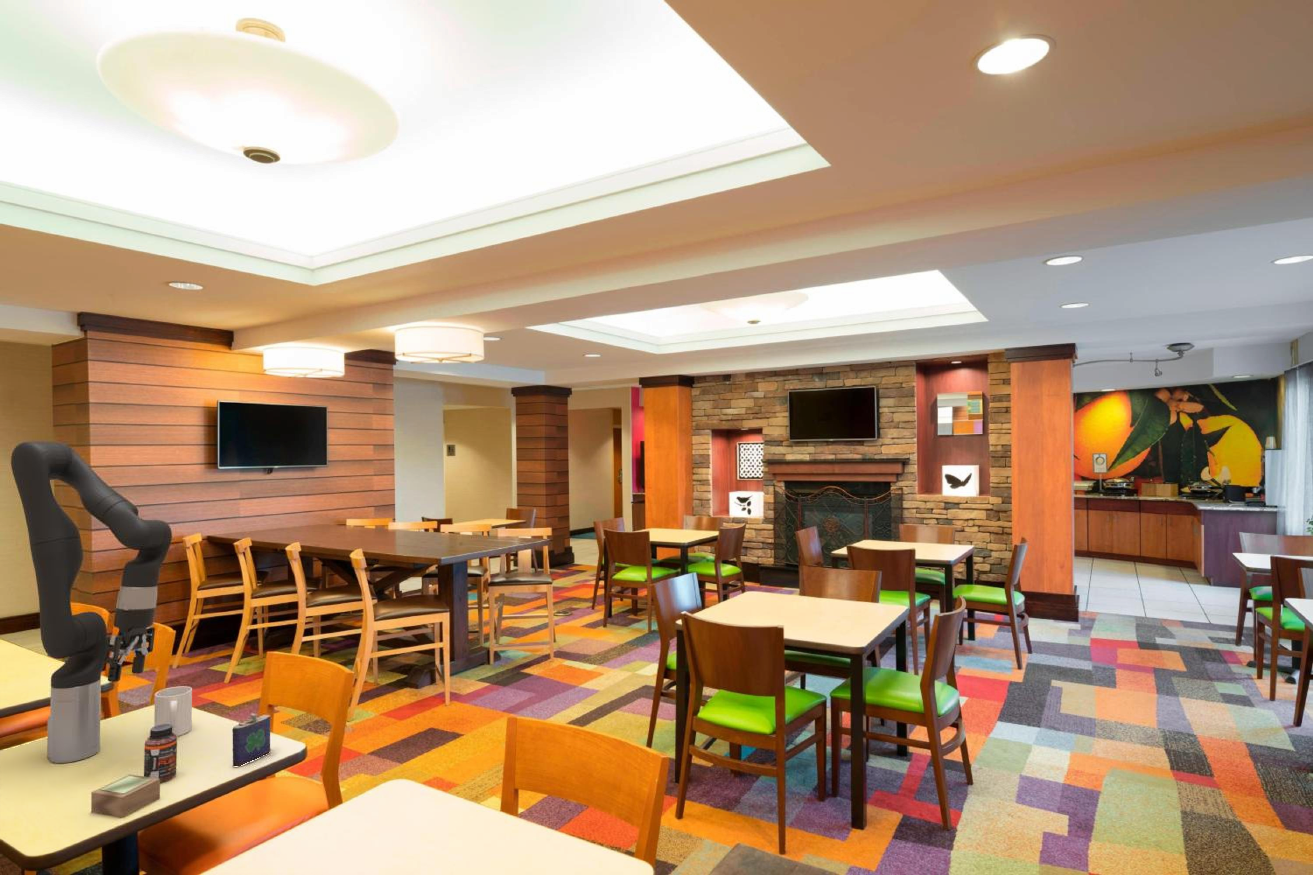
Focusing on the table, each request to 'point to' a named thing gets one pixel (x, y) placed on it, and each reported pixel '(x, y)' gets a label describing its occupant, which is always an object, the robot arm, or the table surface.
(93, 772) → the table surface
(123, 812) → the block
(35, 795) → the table surface
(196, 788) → the table surface
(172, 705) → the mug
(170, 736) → the supplement bottle
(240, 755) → the flask
